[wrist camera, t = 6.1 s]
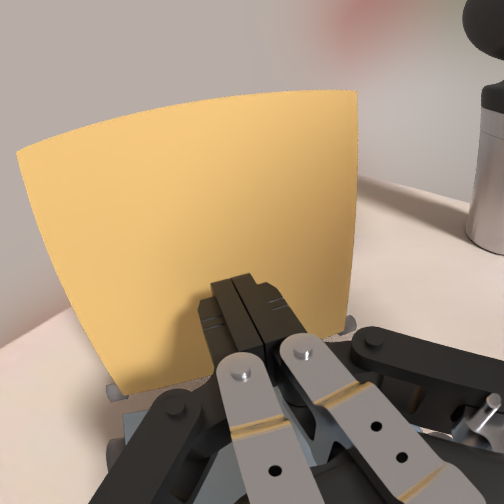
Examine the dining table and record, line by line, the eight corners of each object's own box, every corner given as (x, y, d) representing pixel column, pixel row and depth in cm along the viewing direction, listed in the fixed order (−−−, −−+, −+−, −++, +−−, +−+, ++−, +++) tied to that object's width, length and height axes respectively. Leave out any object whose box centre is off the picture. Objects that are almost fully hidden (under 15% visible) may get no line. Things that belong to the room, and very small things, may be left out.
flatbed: (452, 505, 10) (488, 482, 8) (174, 613, 7) (142, 621, 4) (359, 379, 20) (370, 337, 18) (132, 449, 17) (103, 417, 14)
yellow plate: (356, 334, 18) (375, 91, 11) (113, 406, 15) (-6, 161, 8) (343, 318, 20) (353, 89, 13) (112, 385, 16) (10, 152, 9)
